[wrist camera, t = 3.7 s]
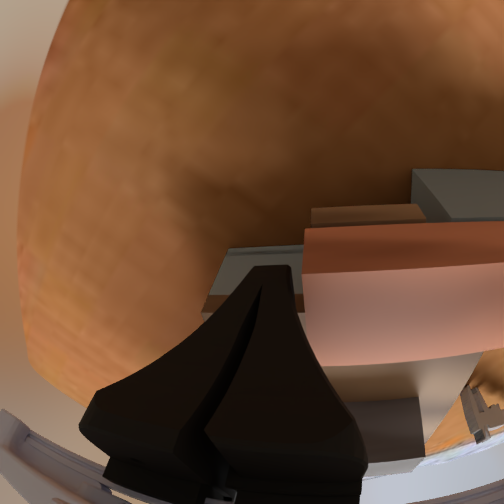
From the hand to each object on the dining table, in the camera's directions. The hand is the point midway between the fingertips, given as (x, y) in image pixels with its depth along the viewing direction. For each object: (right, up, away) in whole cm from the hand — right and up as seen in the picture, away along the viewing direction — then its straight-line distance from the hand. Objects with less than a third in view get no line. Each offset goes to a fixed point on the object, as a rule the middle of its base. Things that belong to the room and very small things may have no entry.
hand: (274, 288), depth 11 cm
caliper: (+28, -15, +12) cm, 34 cm away
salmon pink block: (+5, +1, -1) cm, 5 cm away
